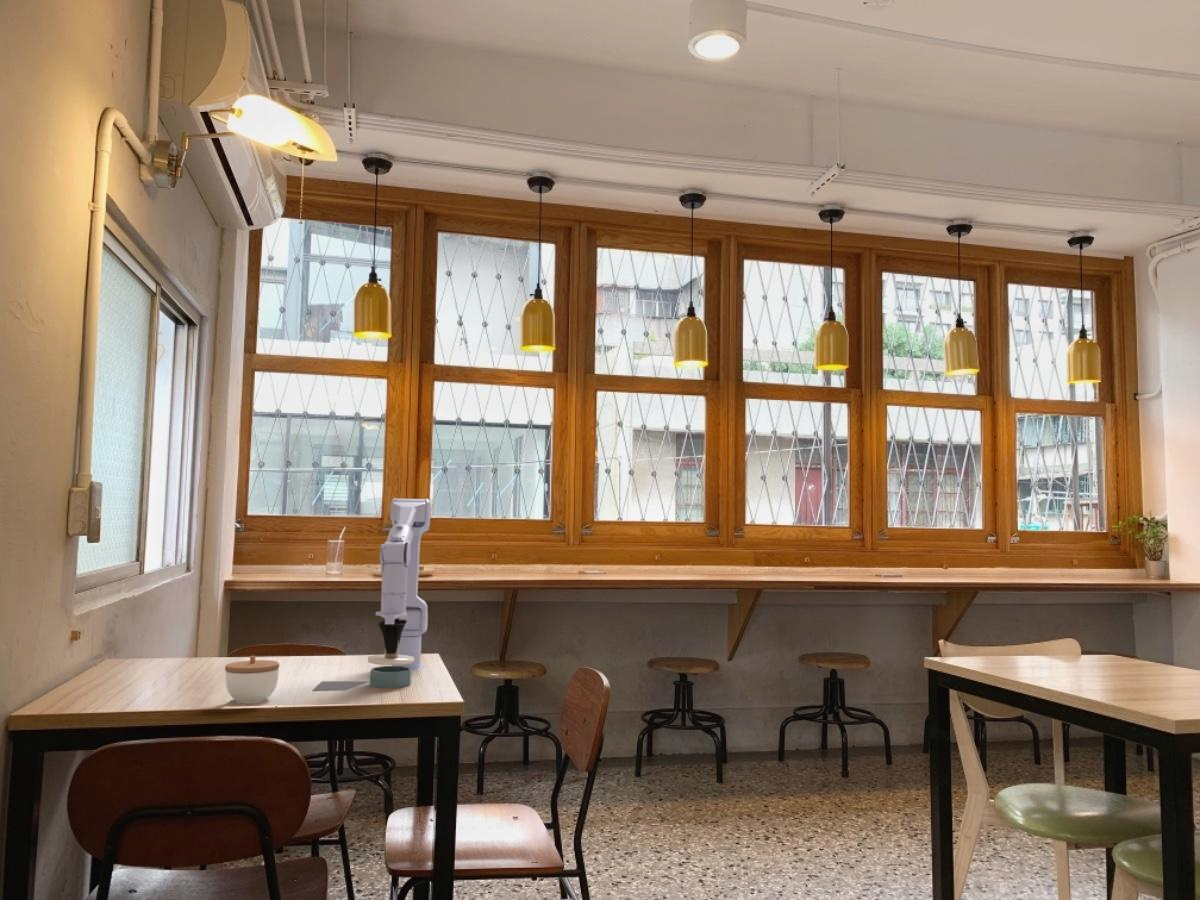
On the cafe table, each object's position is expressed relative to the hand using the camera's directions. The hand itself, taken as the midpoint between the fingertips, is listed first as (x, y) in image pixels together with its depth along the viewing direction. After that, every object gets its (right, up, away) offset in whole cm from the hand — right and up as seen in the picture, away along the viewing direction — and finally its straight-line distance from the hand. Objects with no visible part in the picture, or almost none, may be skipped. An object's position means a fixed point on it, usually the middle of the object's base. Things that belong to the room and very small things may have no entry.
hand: (392, 652), depth 212 cm
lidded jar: (-25, -6, -19) cm, 32 cm away
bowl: (0, -8, 0) cm, 8 cm away
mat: (-11, -8, -3) cm, 14 cm away
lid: (0, -2, 0) cm, 2 cm away
